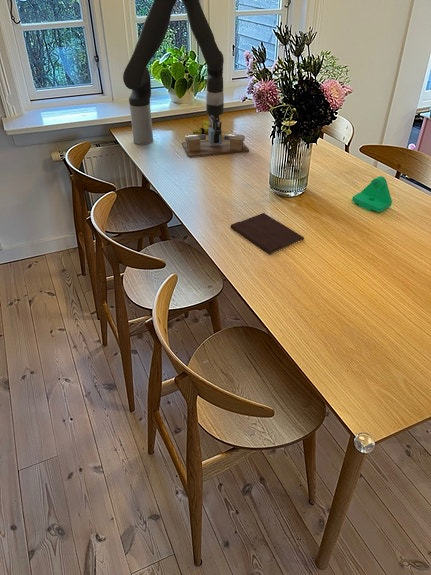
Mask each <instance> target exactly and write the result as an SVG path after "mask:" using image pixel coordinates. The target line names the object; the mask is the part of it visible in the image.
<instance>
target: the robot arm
mask: <svg viewBox="0 0 431 575" xmlns="http://www.w3.org/2000/svg"><path fill="white" fill-rule="evenodd" d="M176 2H177V0H153V2H152V4H151V6H150V9H149V11H148V13H147V16H146V17H145V19H144V23H143V25H142V28H141V30H140V34H139V37H138V39H137V42H136V45H135V48H134V50H133V53H132V54H131V57H130V59H129V61H128V63H127V64H126V67H125V68H124V71H123V73H122V81H123V84H124V85H125V87H126V88H127V89H129V90H131V94H130V96H129V98H128V103H129V111H130V121H131V128H132V137H133V143H134V144H136V145H142V146H143V145H149V144H152V143H153V142H154V138H153V137H154V134H153V123H152V122H153V120H152V112H151V111H152V110H151V96H152V87H151V86H152V85H151V84H152V83H151V74H150V71H149V68H148V64H149V62H150V61H151V60H152V58H153V57H154V56H155V54H156V53H157V52H158V51H159V49H160V48H161V45H163V42H164V40H165V37H166V35H167V33H168V30H169V26H170V22H171V17H172V12H173V10H174V8H175V5H176ZM181 2H182V4H183V7H184V10H185V13H186V16H187V20H188V23H189V27H190V30H191V33H192V34H193V36H194V39H195V41H196V44H198V46H199V49H200V51H201V54H202V56H203V59H204V62H205V64H206V75H207V76H206V95H205V96H206V98H205V99H206V101H205V102H206V103H205V104H206V107H205V108H206V110H205V112H206V114H207V115H208V120H209V121H208V122H209V127H210V128H212V129H213V130H214V143H219V135H221V130H222V124H223V123H222V121H221V118H220V116H221V115H223V114H224V112H225V111H224V110H225V107H224V106H225V105H224V104H225V103H224V101H225V99H224V97H225V96H224V76H223V73H224V64H225V62H224V60H225V59H224V55H223V53H222V51H221V50H220V49H219V47H218V44H217V42H216V40H215V35H214V33H213V30H212V29H211V26H210V23H209V22H208V20H207V17H206V14H205V13H204V10H203V8H202V6H201V3H200V0H181ZM217 130H218V132H217Z"/></svg>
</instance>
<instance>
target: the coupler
mask: <svg viewBox="0 0 431 575" xmlns="http://www.w3.org/2000/svg"><path fill="white" fill-rule="evenodd" d="M217 132H218V130H217ZM207 134H208V138H207V140H208V141H209V143H210V144H211V145H217V144H222V135H223V131H222V129H221V135H219V143H214V130H213V129H212V128H208V132H207Z"/></svg>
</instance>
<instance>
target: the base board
mask: <svg viewBox="0 0 431 575" xmlns="http://www.w3.org/2000/svg"><path fill="white" fill-rule="evenodd" d="M191 135H192V134H187V135H186V136H191ZM194 135H198V134H194ZM231 135H240V134H237V133H232V134H231ZM181 145H182V147H183V150H184V152H185V154H186V156H187V158H188V157H190V158H197V157H196V156H200V157H210V156H209V155H211V156H220V155H230V154H240V153H249V152H250V149H249V147H248V146H247V145H246V144H245V143H244V141H242V138H235V137H231V138H230V140H224V138H223V139H222V144H217V145H211V144H210V143H209V141H208V139H206V140H200V138H199V137H198V138H188V141H187V142H186V141H181Z"/></svg>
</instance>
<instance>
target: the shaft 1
mask: <svg viewBox="0 0 431 575" xmlns="http://www.w3.org/2000/svg"><path fill="white" fill-rule="evenodd" d="M190 135H191V136H187V135H185V136H184V138H185V142H187V141H188V138H198V137H199V138H200V141H202V140H207V135H206V133H204V134H202V135H193V134H190Z"/></svg>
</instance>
